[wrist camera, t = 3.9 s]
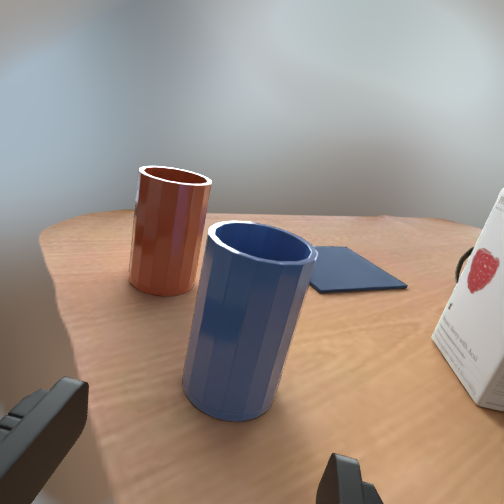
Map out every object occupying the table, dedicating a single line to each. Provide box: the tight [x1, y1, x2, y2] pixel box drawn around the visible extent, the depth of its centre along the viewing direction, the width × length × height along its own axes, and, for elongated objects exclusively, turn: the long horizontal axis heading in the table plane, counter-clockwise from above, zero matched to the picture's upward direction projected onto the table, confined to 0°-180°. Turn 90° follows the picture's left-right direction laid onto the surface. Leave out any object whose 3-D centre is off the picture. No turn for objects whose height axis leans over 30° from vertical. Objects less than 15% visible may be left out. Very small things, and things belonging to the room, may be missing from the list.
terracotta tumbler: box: [129, 166, 212, 296], centre depth 32 cm, size 6×6×10 cm
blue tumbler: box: [182, 221, 318, 422], centre depth 21 cm, size 6×6×10 cm
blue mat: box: [310, 246, 408, 293], centre depth 46 cm, size 14×12×1 cm
